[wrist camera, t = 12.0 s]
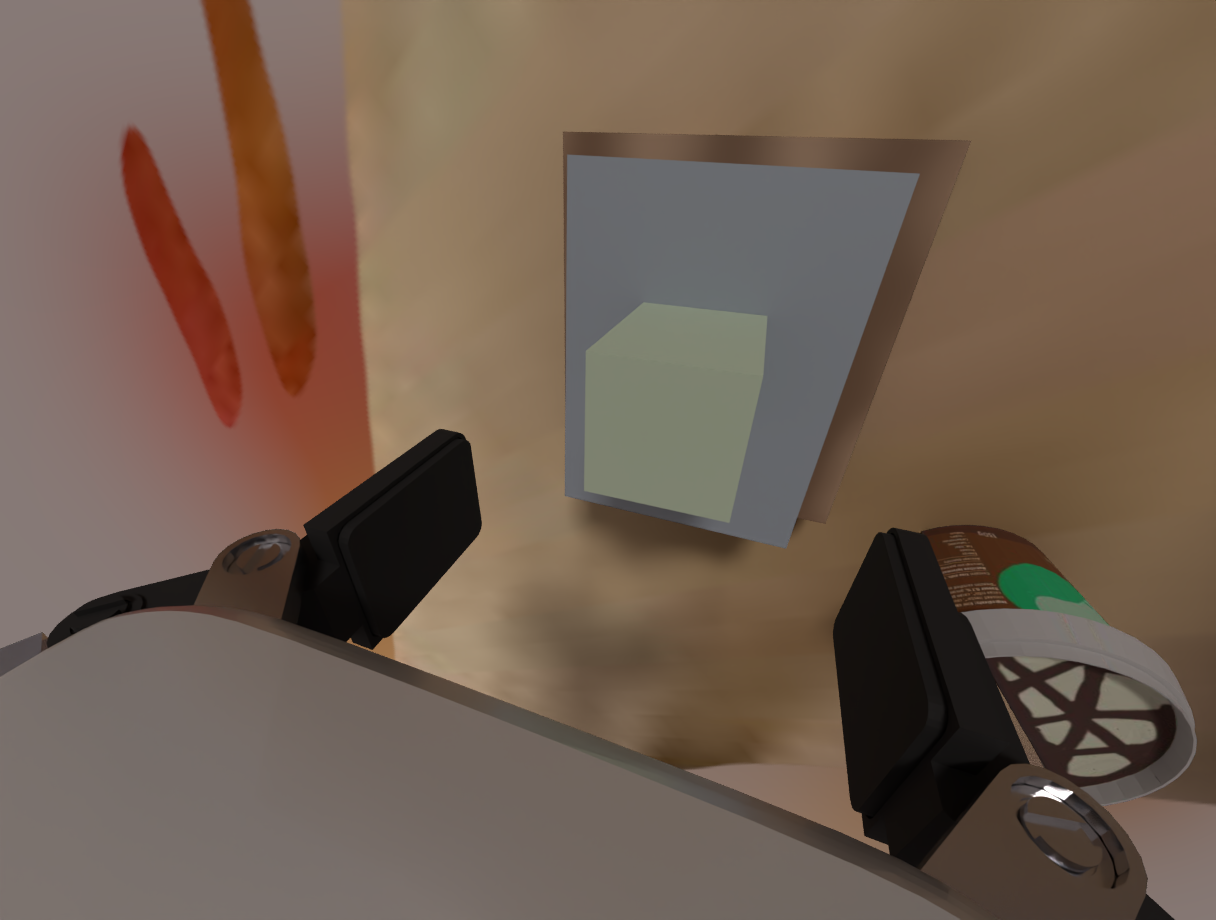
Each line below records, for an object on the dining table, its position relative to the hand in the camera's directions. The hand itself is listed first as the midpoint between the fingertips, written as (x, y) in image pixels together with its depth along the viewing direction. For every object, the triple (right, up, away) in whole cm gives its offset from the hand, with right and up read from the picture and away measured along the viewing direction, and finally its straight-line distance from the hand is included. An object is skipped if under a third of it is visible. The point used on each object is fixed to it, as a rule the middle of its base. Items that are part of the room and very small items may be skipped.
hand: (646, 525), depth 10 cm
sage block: (+3, +6, +9) cm, 11 cm away
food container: (+24, -5, +17) cm, 30 cm away
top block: (+4, +7, +13) cm, 15 cm away
